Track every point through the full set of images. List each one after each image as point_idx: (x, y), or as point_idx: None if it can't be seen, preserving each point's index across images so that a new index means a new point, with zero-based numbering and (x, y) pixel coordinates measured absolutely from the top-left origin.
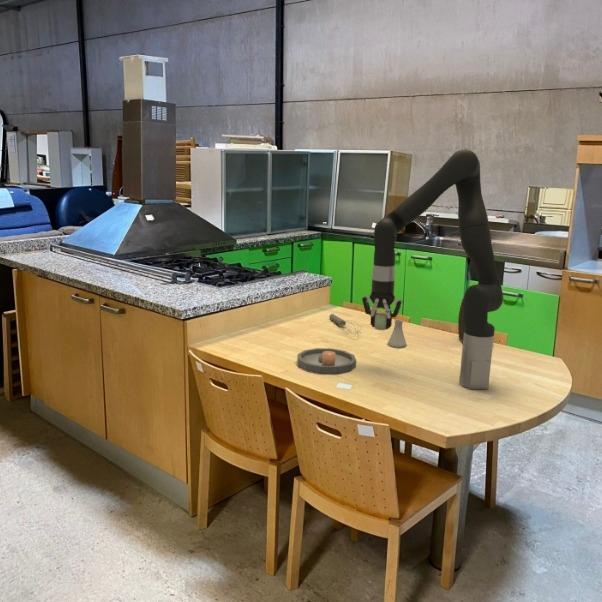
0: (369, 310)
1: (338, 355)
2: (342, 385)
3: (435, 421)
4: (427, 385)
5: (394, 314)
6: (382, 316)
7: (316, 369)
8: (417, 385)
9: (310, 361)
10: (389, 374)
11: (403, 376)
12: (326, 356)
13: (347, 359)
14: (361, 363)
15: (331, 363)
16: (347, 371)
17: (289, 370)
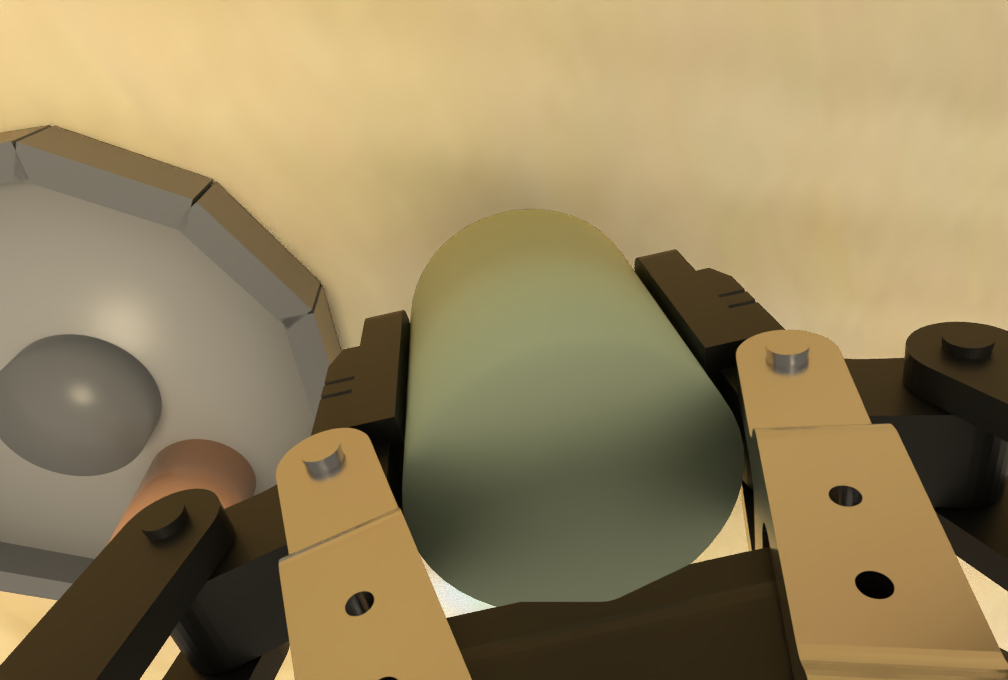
0: (232, 617)
1: (20, 196)
2: (462, 592)
3: (1002, 628)
4: (939, 281)
5: (967, 522)
6: (651, 573)
7: None
8: (873, 324)
9: (5, 477)
10: (631, 260)
11: (742, 229)
12: None
13: (177, 241)
14: (302, 173)
15: None
16: None
17: (36, 618)
